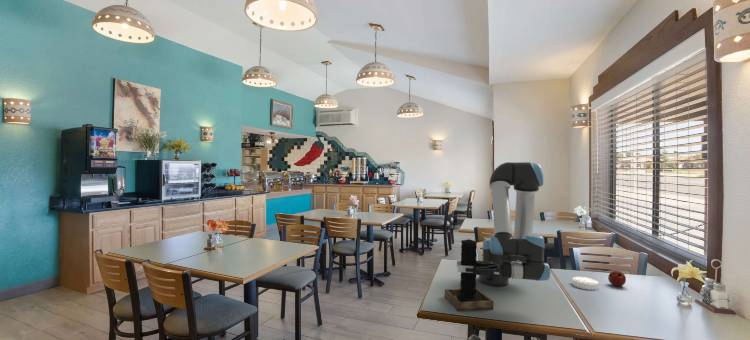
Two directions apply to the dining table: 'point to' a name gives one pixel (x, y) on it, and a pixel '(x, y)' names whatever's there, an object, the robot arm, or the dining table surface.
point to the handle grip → (467, 278)
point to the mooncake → (585, 283)
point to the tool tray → (460, 305)
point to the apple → (617, 278)
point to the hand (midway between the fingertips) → (457, 266)
